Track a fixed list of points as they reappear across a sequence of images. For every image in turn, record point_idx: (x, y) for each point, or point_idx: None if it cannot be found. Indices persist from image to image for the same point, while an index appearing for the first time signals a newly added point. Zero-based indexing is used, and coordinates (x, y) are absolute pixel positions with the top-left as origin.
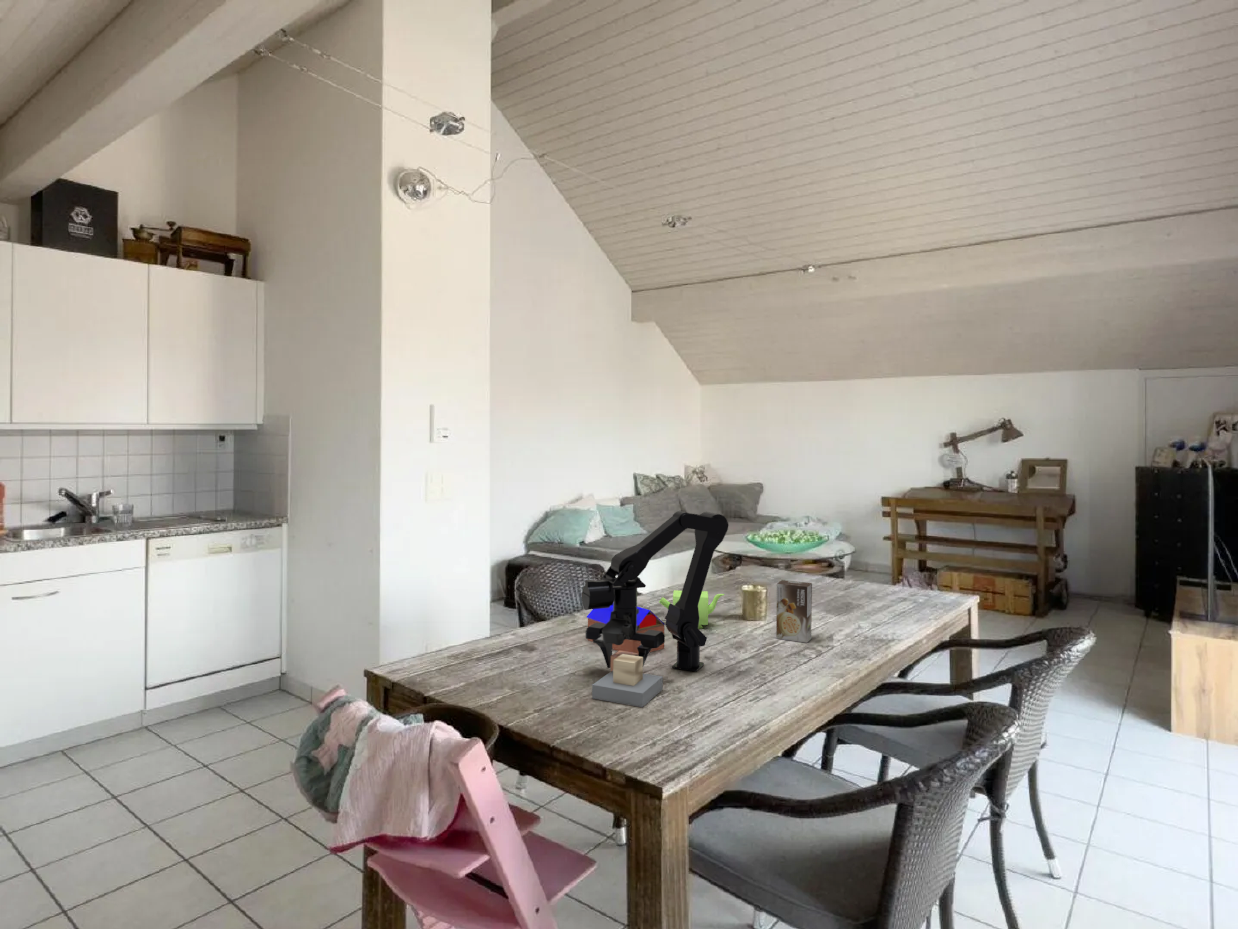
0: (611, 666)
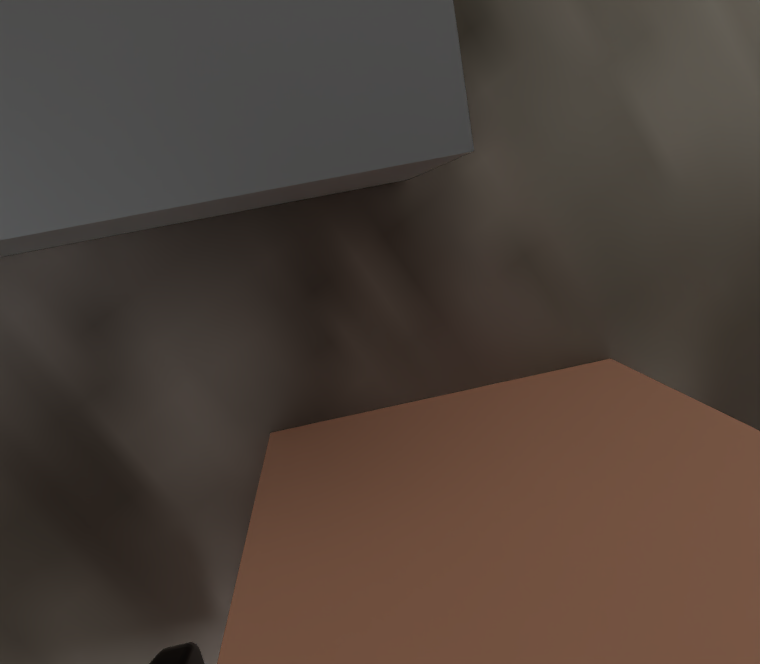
0: (715, 423)
